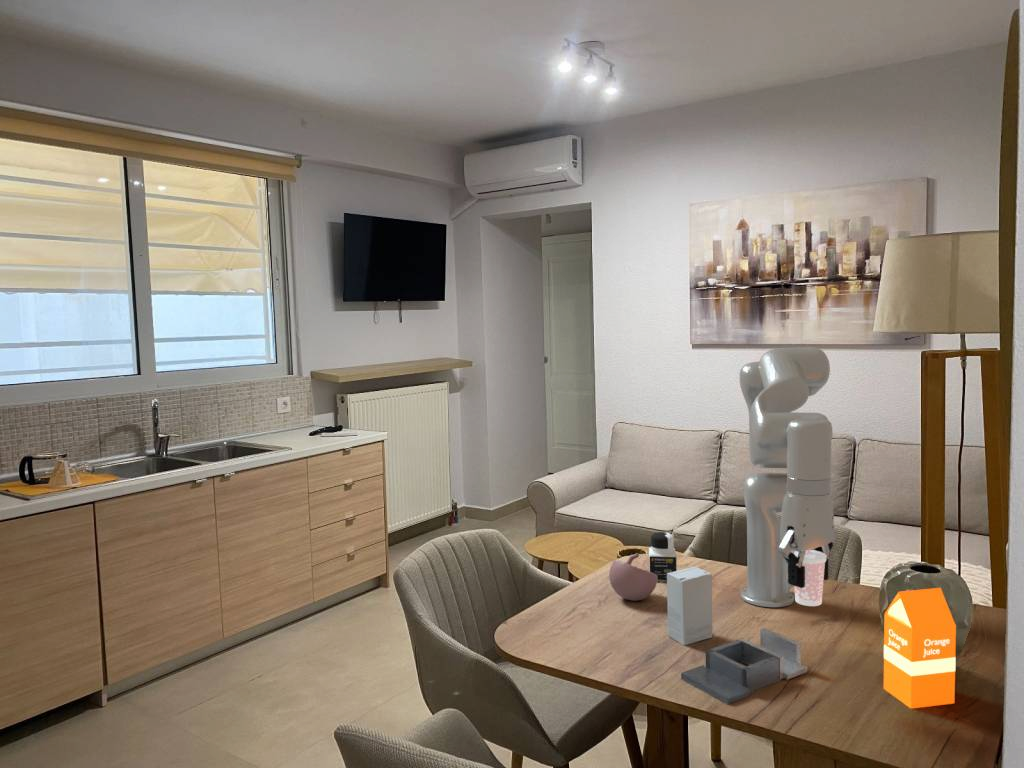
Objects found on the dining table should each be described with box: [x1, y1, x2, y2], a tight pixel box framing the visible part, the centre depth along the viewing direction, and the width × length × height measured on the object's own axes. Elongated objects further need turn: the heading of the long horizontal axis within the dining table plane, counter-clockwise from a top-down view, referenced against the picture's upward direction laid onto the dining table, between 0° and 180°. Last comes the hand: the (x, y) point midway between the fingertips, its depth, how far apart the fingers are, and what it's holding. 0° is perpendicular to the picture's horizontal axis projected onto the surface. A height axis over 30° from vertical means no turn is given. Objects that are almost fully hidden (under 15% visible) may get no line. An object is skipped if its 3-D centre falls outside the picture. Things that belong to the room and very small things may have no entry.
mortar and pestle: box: [608, 552, 658, 602], centre depth 189 cm, size 12×12×12 cm
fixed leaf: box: [680, 639, 780, 705], centre depth 146 cm, size 15×12×4 cm
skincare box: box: [666, 565, 713, 646], centre depth 165 cm, size 8×6×15 cm
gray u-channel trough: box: [737, 627, 808, 681], centre depth 151 cm, size 7×12×5 cm, turn 31°
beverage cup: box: [793, 549, 828, 607], centre depth 139 cm, size 6×6×14 cm
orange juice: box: [883, 587, 957, 709], centre depth 137 cm, size 8×9×20 cm
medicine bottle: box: [648, 531, 678, 582], centre depth 205 cm, size 7×7×12 cm
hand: (808, 580), depth 139 cm, fingers closed on beverage cup, 6 cm apart
